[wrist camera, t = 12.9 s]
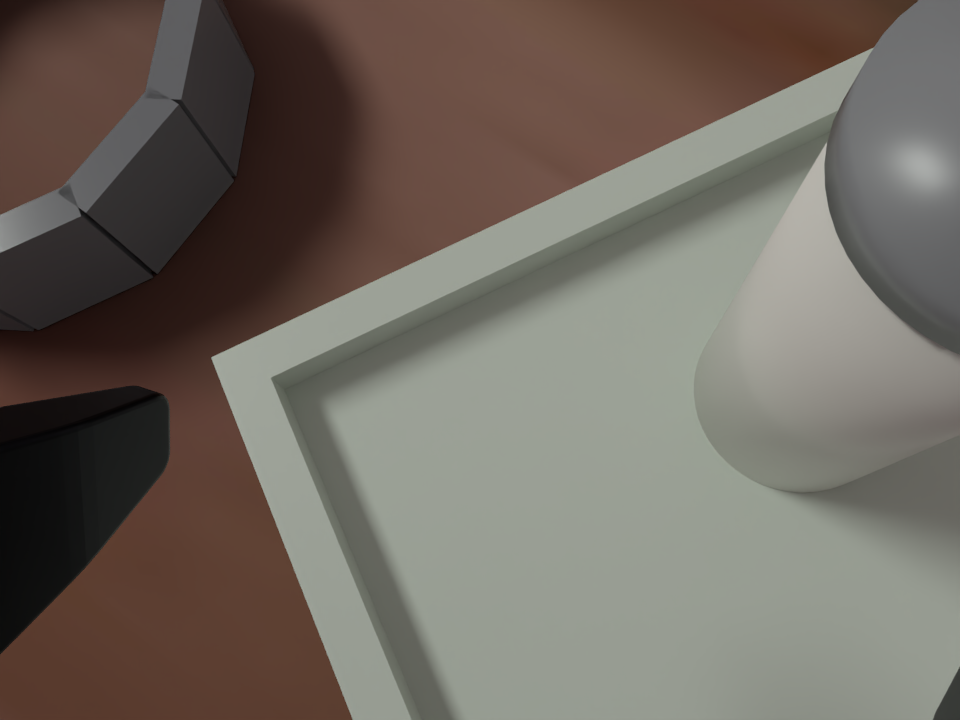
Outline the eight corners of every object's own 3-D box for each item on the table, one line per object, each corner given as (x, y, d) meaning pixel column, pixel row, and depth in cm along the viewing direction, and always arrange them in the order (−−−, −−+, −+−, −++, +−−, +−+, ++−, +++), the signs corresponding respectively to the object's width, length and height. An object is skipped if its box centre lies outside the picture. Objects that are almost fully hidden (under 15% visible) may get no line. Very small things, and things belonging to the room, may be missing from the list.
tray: (1364, 763, 19) (1456, 780, 17) (566, 1198, 18) (567, 1269, 16) (865, 82, 25) (892, 39, 23) (238, 377, 24) (211, 357, 22)
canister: (845, 537, 20) (1231, 441, 9) (653, 429, 21) (776, 219, 10) (934, 359, 21) (1381, 67, 10) (747, 264, 23) (955, -96, 11)
